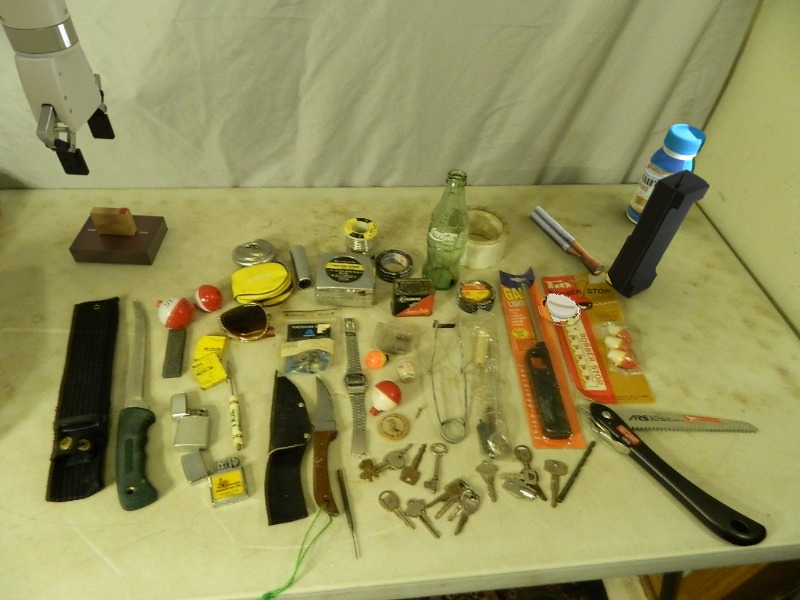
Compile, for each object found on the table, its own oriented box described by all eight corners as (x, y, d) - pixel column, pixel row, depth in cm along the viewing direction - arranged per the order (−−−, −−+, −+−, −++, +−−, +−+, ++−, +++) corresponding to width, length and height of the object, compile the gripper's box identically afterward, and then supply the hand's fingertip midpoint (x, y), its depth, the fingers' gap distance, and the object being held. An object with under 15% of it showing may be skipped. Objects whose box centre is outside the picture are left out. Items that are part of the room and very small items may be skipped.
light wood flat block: (98, 234, 93) (88, 211, 89) (102, 227, 94) (92, 205, 91) (133, 235, 93) (125, 213, 90) (137, 229, 94) (128, 207, 91)
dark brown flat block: (74, 261, 92) (67, 248, 90) (96, 225, 99) (90, 212, 97) (151, 265, 93) (146, 251, 90) (168, 228, 100) (163, 215, 97)
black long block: (629, 265, 102) (690, 149, 84) (654, 284, 99) (723, 168, 81) (601, 278, 99) (659, 161, 81) (626, 299, 95) (692, 182, 77)
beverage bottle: (670, 231, 110) (719, 145, 96) (631, 229, 110) (674, 142, 95) (657, 206, 116) (701, 122, 102) (619, 204, 116) (658, 119, 101)
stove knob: (578, 331, 89) (582, 323, 88) (535, 319, 90) (538, 311, 89) (581, 301, 94) (585, 294, 93) (540, 290, 95) (543, 283, 94)
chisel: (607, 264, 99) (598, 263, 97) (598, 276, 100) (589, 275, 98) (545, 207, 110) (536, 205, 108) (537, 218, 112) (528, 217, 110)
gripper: (43, 7, 72) (89, 124, 84) (-28, 61, 60) (38, 188, 72) (100, 11, 72) (137, 127, 84) (40, 65, 60) (94, 190, 73)
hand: (92, 155), depth 78 cm, fingers open, 9 cm apart
